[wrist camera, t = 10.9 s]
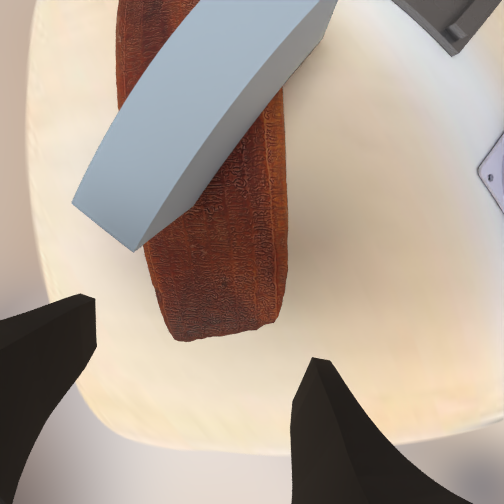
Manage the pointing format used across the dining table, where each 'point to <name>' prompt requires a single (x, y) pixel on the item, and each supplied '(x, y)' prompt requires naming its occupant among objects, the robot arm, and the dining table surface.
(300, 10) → the pale blue upright panel
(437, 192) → the dining table surface
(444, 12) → the metal plate
